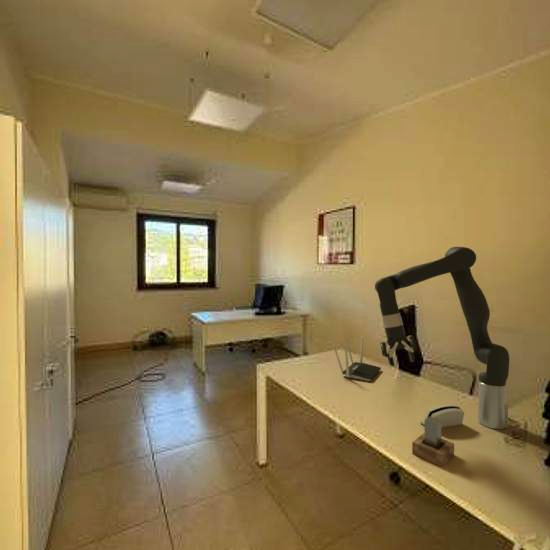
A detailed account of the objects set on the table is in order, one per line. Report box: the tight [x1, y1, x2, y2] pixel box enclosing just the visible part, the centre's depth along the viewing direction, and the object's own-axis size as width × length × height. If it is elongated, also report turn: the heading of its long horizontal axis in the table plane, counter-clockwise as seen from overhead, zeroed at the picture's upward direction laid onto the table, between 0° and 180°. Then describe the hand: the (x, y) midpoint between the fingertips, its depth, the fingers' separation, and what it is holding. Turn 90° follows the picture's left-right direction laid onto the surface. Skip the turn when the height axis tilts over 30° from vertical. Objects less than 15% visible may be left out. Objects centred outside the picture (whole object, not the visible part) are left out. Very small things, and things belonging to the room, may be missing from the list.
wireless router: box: [332, 335, 382, 382], centre depth 194 cm, size 34×23×20 cm
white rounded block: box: [419, 403, 465, 429], centre depth 130 cm, size 17×5×10 cm, turn 104°
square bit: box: [424, 416, 442, 450], centre depth 110 cm, size 4×4×12 cm
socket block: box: [411, 431, 455, 468], centre depth 110 cm, size 10×10×4 cm
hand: (402, 363), depth 131 cm, fingers open, 8 cm apart
